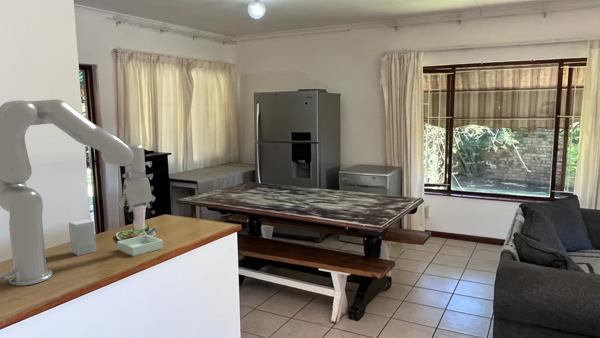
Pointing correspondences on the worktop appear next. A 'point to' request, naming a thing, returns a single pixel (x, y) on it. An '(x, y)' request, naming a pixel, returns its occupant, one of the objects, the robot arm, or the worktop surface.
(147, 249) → the bin
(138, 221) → the smoothie
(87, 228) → the supplement box
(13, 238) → the robot arm
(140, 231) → the avocado toast plate
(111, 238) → the worktop surface
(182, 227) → the worktop surface
